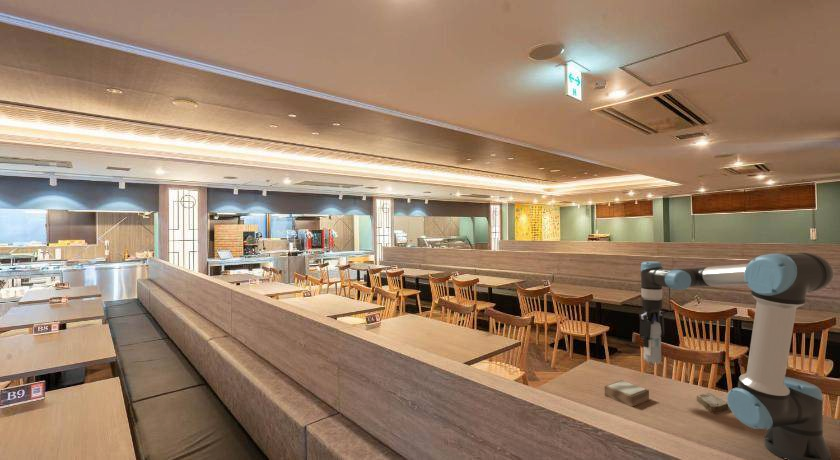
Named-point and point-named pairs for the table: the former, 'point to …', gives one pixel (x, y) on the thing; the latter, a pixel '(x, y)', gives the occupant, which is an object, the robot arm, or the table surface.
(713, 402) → the stone
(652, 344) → the bottle
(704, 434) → the table surface
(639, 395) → the picture frame
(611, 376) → the table surface
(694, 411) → the table surface
